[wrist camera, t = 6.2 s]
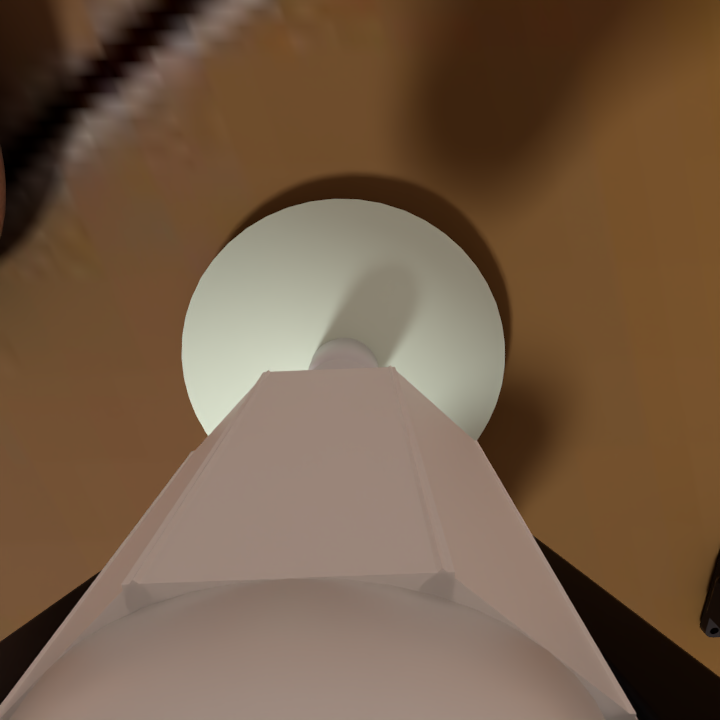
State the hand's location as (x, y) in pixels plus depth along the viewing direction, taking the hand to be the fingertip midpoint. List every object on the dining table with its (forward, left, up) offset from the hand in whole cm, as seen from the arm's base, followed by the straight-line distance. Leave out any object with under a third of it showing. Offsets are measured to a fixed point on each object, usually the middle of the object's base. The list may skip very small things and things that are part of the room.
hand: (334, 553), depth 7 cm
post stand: (0, 0, -12) cm, 12 cm away
